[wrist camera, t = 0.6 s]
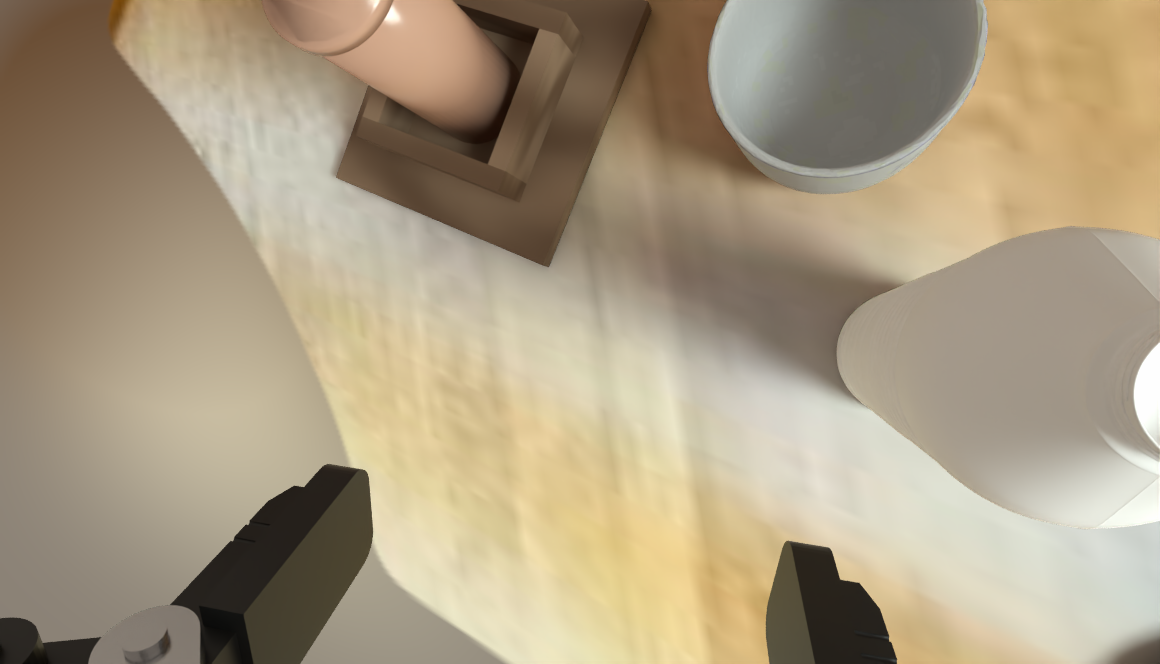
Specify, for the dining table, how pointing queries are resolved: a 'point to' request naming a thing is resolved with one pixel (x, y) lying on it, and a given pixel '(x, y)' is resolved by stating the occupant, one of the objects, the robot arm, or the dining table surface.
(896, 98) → the teacup
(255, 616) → the robot arm
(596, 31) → the jug holder
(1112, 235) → the water bottle
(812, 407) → the dining table surface
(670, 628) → the dining table surface
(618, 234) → the dining table surface
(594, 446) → the dining table surface
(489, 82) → the tan tall cup
